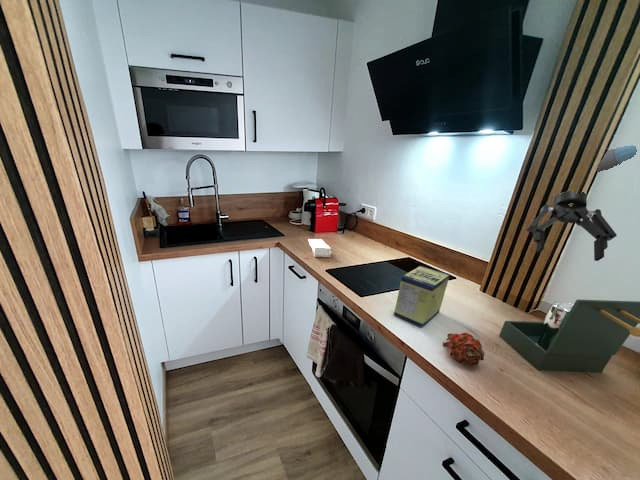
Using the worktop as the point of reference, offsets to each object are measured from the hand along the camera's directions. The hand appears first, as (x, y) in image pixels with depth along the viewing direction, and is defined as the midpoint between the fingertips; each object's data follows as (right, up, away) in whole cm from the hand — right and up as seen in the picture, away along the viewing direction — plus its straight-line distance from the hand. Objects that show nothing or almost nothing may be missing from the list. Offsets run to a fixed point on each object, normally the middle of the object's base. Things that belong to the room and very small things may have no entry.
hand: (568, 254), depth 85 cm
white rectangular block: (-64, +7, +81) cm, 103 cm away
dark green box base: (-6, -29, +1) cm, 30 cm away
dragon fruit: (-34, -30, -3) cm, 46 cm away
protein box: (-37, -21, +19) cm, 46 cm away
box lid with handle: (-6, -19, -12) cm, 24 cm away
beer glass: (-6, -29, 0) cm, 29 cm away
